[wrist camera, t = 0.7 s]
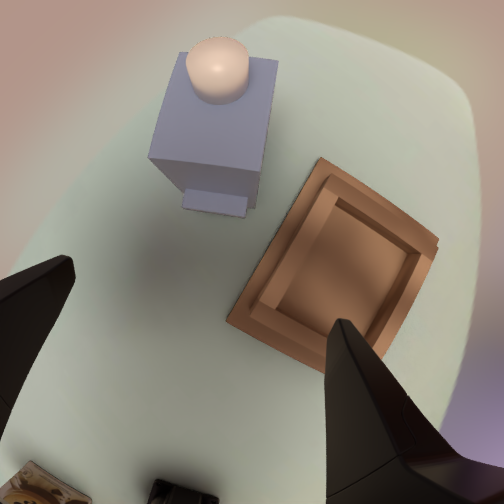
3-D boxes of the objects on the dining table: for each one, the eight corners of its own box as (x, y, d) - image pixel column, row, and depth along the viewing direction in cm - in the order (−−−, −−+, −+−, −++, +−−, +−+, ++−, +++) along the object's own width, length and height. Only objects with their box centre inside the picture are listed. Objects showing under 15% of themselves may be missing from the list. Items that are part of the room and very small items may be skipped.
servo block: (252, 224, 22) (256, 188, 10) (186, 214, 22) (124, 171, 10) (269, 121, 23) (285, 19, 11) (207, 113, 23) (179, 12, 11)
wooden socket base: (355, 386, 22) (367, 401, 19) (226, 319, 22) (223, 328, 19) (434, 239, 23) (454, 237, 20) (318, 160, 23) (328, 146, 20)
